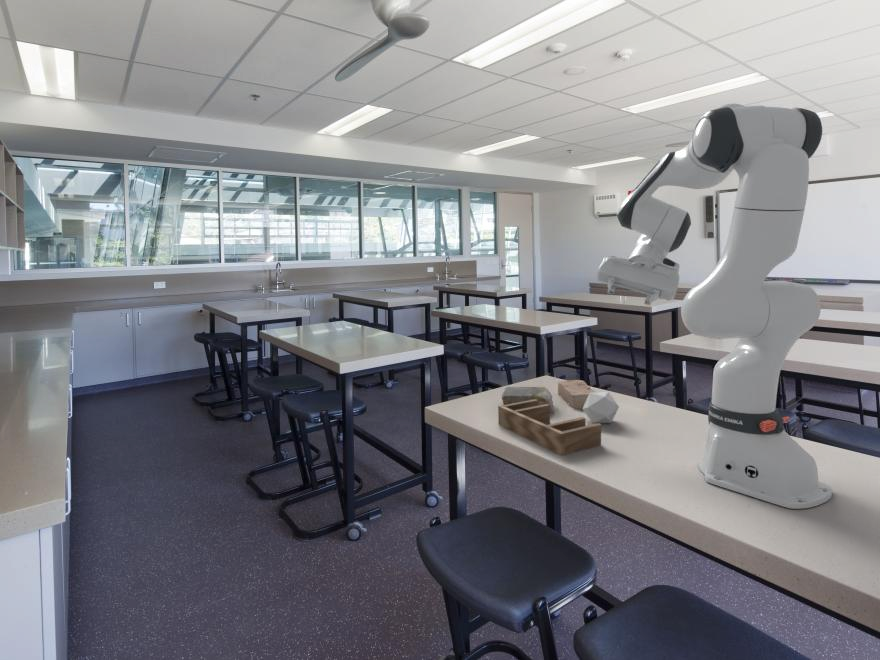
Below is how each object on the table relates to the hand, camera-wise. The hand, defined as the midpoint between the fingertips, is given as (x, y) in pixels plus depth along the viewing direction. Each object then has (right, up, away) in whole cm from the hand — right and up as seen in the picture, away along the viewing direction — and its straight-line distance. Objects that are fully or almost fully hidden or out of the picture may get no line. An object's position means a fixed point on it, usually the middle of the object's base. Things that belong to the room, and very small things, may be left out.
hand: (628, 297), depth 131 cm
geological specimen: (-22, -32, +21) cm, 44 cm away
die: (-5, -33, +7) cm, 34 cm away
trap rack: (-21, -34, -1) cm, 40 cm away
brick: (-6, -30, +27) cm, 41 cm away
